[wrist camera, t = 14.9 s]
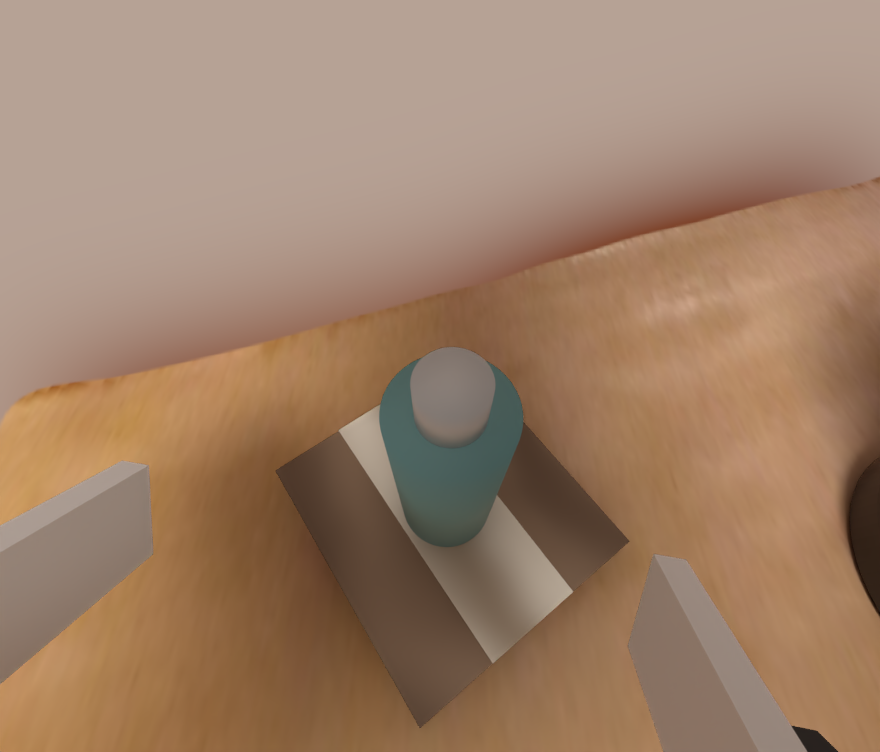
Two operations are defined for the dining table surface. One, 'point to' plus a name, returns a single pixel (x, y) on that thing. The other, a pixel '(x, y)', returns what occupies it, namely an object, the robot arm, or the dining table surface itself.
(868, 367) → the dining table surface
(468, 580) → the brown cream striped panel
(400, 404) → the teal bottle with cap
